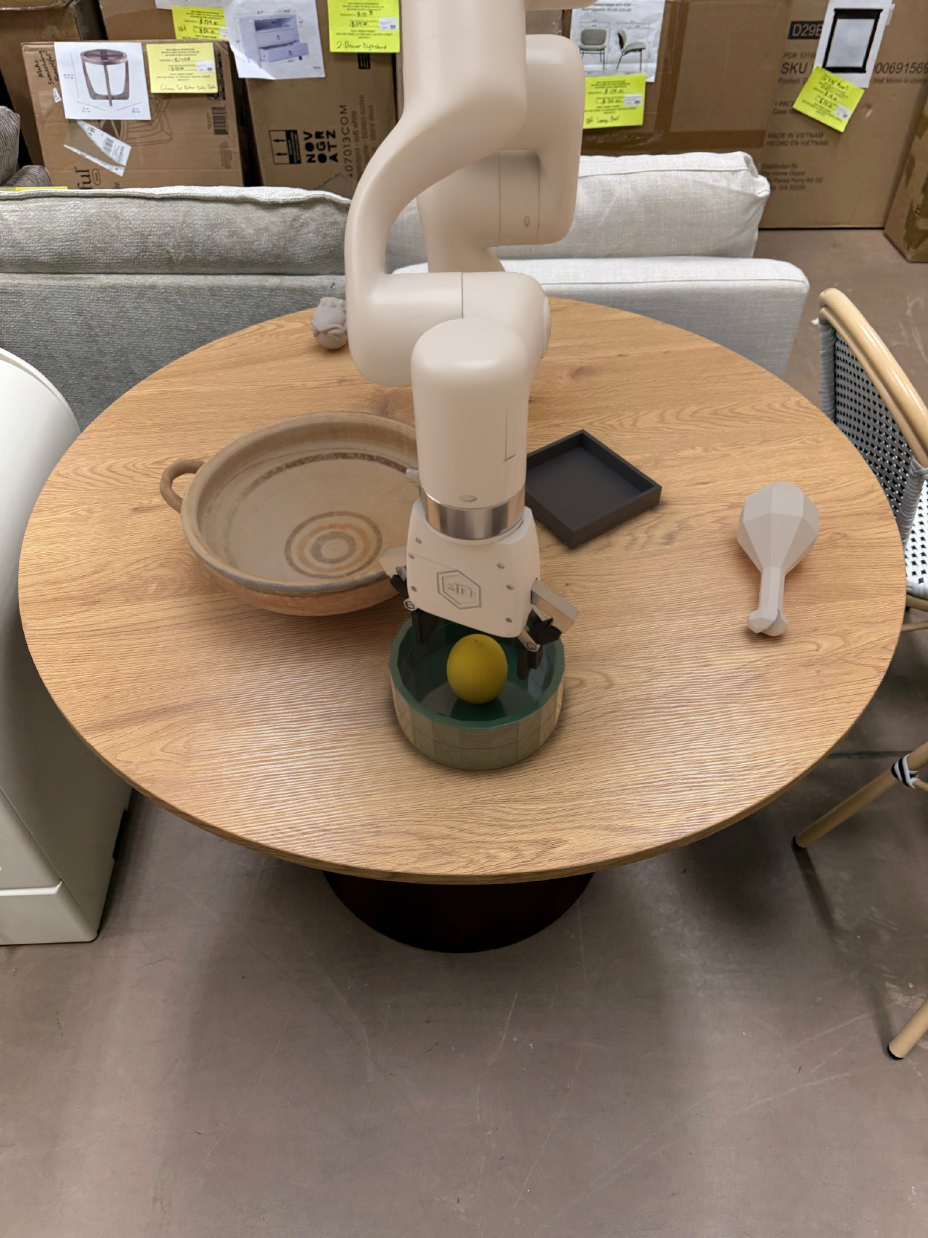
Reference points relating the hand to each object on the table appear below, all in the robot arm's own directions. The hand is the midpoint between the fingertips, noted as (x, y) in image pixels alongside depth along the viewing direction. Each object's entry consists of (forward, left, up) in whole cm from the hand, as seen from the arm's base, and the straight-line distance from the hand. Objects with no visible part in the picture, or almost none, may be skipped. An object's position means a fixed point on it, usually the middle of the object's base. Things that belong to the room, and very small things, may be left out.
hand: (476, 650), depth 71 cm
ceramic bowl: (-25, -2, -8) cm, 26 cm away
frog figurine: (-66, +20, -8) cm, 70 cm away
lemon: (0, 0, -7) cm, 7 cm away
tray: (-18, +27, -8) cm, 34 cm away
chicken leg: (+5, +34, -8) cm, 35 cm away
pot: (0, 0, -8) cm, 8 cm away
